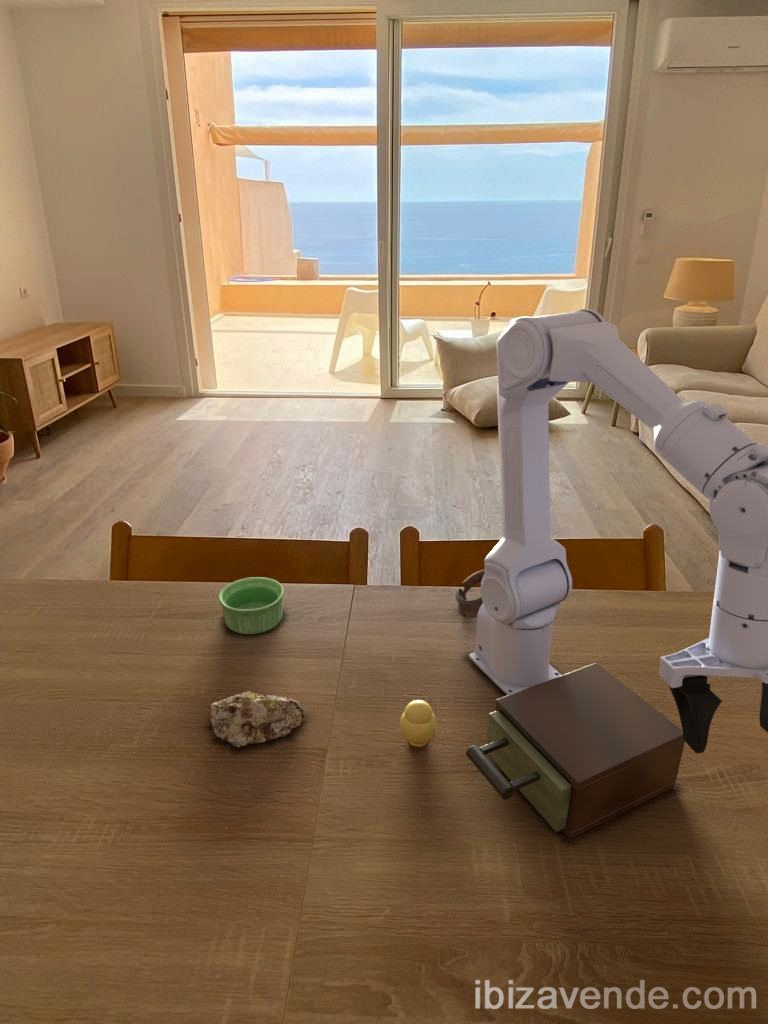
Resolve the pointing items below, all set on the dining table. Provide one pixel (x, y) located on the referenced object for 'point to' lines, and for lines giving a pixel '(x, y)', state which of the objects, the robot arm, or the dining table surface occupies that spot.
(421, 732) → the yellow double-bulb knob
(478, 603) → the pottery mug
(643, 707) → the cabinet
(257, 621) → the ramekin
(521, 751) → the drawer
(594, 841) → the dining table surface
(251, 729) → the mineral rock
